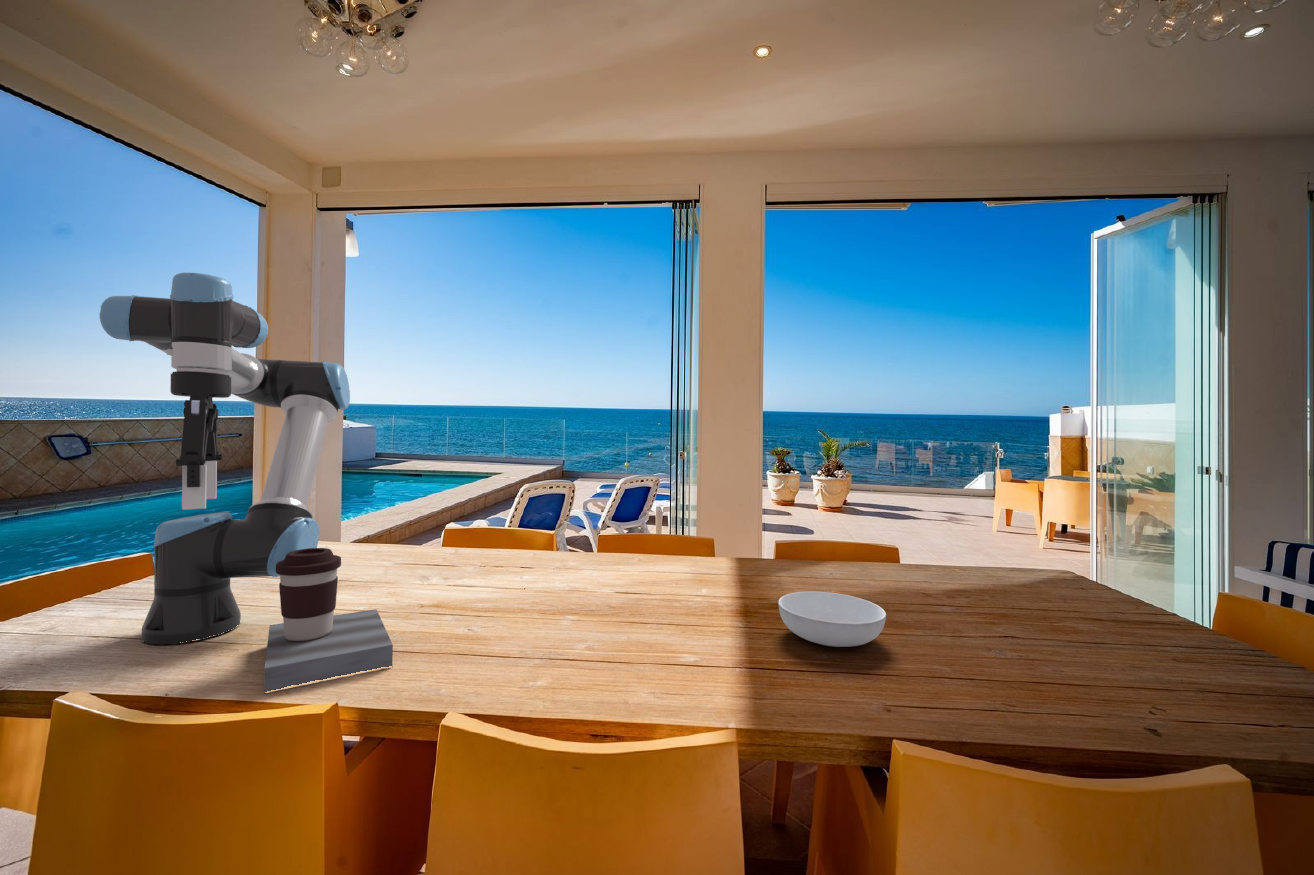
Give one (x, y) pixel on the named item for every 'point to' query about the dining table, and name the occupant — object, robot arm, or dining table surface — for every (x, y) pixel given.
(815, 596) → the serving bowl
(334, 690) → the dining table surface
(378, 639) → the stand
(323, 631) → the coffee cup
